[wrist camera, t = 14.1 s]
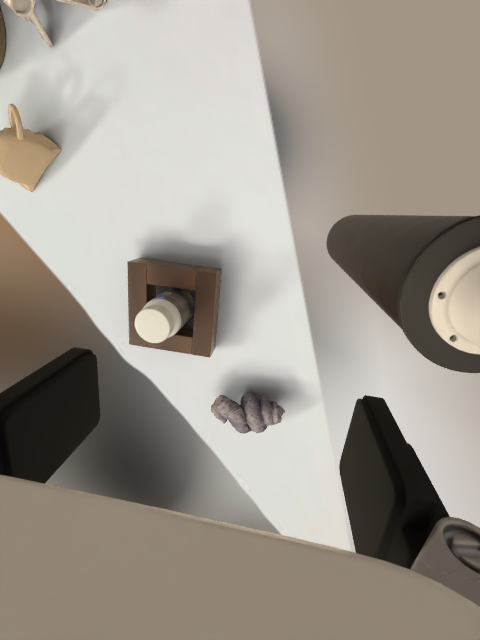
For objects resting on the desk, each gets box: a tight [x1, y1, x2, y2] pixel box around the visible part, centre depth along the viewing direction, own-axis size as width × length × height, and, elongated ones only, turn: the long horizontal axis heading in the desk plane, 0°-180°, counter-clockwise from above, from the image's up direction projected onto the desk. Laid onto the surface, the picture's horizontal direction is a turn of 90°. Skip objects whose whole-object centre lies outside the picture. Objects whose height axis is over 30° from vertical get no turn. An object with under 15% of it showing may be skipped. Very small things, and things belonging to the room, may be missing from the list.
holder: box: [128, 258, 221, 357], centre depth 39 cm, size 11×11×3 cm
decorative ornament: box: [0, 104, 61, 192], centre depth 34 cm, size 4×8×5 cm, turn 131°
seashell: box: [211, 392, 285, 433], centre depth 42 cm, size 5×5×10 cm
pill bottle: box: [135, 288, 195, 343], centre depth 37 cm, size 5×5×8 cm
